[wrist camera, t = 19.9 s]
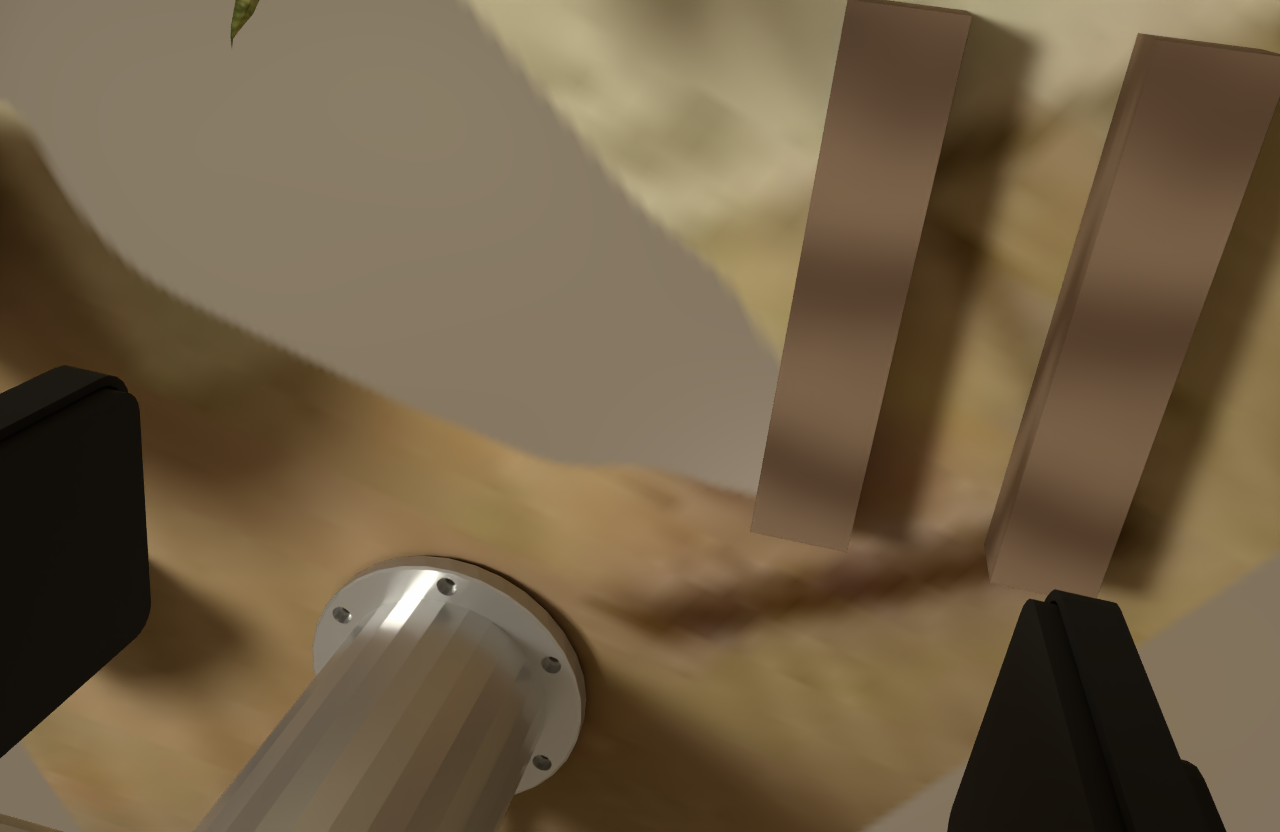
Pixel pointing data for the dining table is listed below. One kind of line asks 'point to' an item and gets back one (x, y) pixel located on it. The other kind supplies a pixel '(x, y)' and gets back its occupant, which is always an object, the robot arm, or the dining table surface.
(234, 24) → the house plant
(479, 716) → the robot arm
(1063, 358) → the parallel rectangular beams
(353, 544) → the dining table surface
